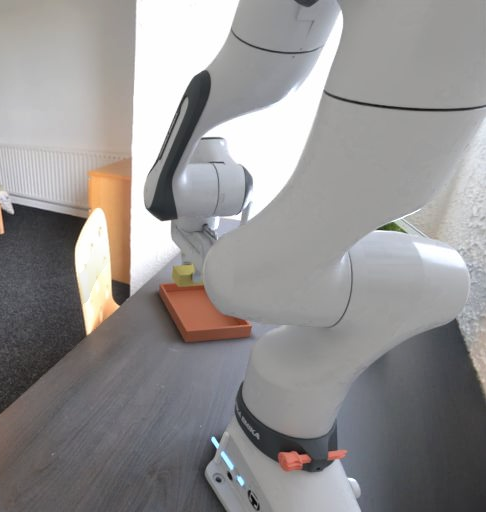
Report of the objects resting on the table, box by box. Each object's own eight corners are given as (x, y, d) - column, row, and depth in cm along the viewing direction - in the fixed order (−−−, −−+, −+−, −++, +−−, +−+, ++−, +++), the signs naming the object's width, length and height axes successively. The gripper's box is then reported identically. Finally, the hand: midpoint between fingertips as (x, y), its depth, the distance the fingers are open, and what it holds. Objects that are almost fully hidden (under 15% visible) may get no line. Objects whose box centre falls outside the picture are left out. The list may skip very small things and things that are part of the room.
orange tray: (249, 336, 84) (252, 325, 83) (185, 342, 83) (186, 331, 81) (211, 289, 103) (213, 279, 102) (158, 293, 102) (159, 283, 100)
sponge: (200, 275, 86) (202, 263, 84) (208, 284, 82) (210, 272, 80) (171, 277, 85) (172, 265, 84) (178, 287, 81) (179, 275, 80)
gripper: (235, 234, 68) (224, 298, 74) (193, 201, 86) (188, 254, 92) (202, 236, 67) (194, 300, 73) (167, 203, 85) (163, 256, 91)
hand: (190, 274), depth 83 cm, fingers closed on sponge, 4 cm apart
